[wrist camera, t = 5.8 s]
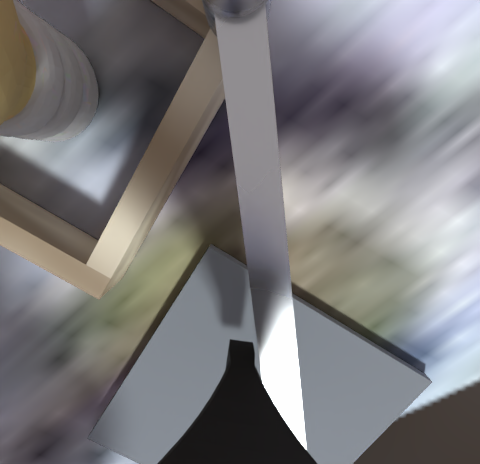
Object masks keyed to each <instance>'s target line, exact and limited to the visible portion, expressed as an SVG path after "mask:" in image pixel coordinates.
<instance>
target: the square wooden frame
mask: <svg viewBox="0 0 480 464" xmlns="http://www.w3.org/2000/svg"><path fill="white" fill-rule="evenodd" d="M151 1H152V2H153V3H155V4H156V5H158V6H159V7H161V8H162V9H163V10H165V11H166V12H168V13H169V14H170V15H172V16H173V17H175V18H176V19H178V20H179V21H180V22H182V23H183V24H185V25H186V26H187V27H189V28H190V29H192V30H193V31H195V32H196V33H197V34H199V35H200V36H202V37H203V38H205V39H204V41H203V43H202V45H201V47H200V49H199V51H198V53H197V54H196V56H195V58H194V60H193V62H192V64H191V66H190V68H189V70H188V72H187V74H186V75H185V77H184V79H183V81H182V83H181V85H180V87H179V89H178V91H177V93H176V94H175V96H174V98H173V100H172V102H171V104H170V106H169V108H168V110H167V112H166V113H165V115H164V117H163V119H162V121H161V123H160V125H159V127H158V129H157V131H156V132H155V134H154V136H153V138H152V140H151V142H150V144H149V146H148V148H147V150H146V151H145V153H144V155H143V157H142V159H141V161H140V163H139V165H138V167H137V169H136V171H135V172H134V174H133V176H132V178H131V180H130V182H129V184H128V186H127V188H126V190H125V191H124V193H123V195H122V197H121V199H120V201H119V203H118V205H117V207H116V209H115V210H114V212H113V214H112V216H111V218H110V220H109V222H108V224H107V226H106V228H105V229H104V231H103V233H102V235H101V237H100V239H99V240H97V239H95V238H93V237H92V236H90V235H88V234H87V233H85V232H83V231H81V230H80V229H78V228H76V227H74V226H73V225H71V224H69V223H68V222H66V221H64V220H62V219H61V218H59V217H57V216H55V215H54V214H52V213H50V212H48V211H47V210H45V209H43V208H42V207H40V206H38V205H36V204H35V203H33V202H31V201H29V200H28V199H26V198H24V197H22V196H21V195H19V194H17V193H16V192H14V191H12V190H10V189H9V188H7V187H5V186H3V185H2V184H0V245H1V246H3V247H5V248H6V249H8V250H10V251H12V252H14V253H16V254H17V255H19V256H21V257H23V258H25V259H26V260H28V261H30V262H32V263H34V264H35V265H37V266H39V267H41V268H43V269H45V270H46V271H48V272H50V273H52V274H54V275H55V276H57V277H59V278H61V279H63V280H65V281H66V282H68V283H70V284H72V285H74V286H75V287H77V288H79V289H81V290H83V291H85V292H86V293H88V294H90V295H92V296H94V297H95V298H97V299H100V298H101V297H102V296H103V295H105V294H106V293H107V292H108V291H109V290H110V289H111V288H112V287H113V286H114V285H115V284H117V283H118V282H119V281H120V280H121V279H122V278H123V276H124V275H125V273H126V271H127V269H128V268H129V266H130V264H131V262H132V261H133V259H134V257H135V255H136V254H137V252H138V250H139V248H140V247H141V245H142V243H143V241H144V239H145V238H146V236H147V234H148V232H149V231H150V229H151V227H152V225H153V224H154V222H155V220H156V218H157V217H158V215H159V213H160V211H161V210H162V208H163V206H164V204H165V203H166V201H167V199H168V197H169V196H170V194H171V192H172V190H173V189H174V187H175V185H176V183H177V182H178V180H179V178H180V176H181V174H182V173H183V171H184V169H185V167H186V166H187V164H188V162H189V160H190V159H191V157H192V155H193V153H194V152H195V150H196V148H197V146H198V145H199V143H200V141H201V139H202V138H203V136H204V134H205V132H206V131H207V129H208V127H209V125H210V124H211V122H212V120H213V118H214V117H215V115H216V113H217V111H218V109H219V108H220V106H221V104H222V102H223V101H224V99H225V92H224V84H223V77H222V69H221V61H220V54H219V46H218V39H217V36H216V35H215V34H214V33H213V32H212V30H211V29H210V27H209V24H208V22H207V18H206V15H205V11H204V7H203V3H202V0H151Z"/></svg>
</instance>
